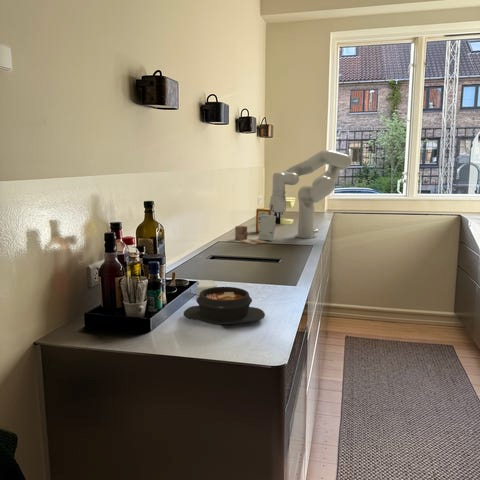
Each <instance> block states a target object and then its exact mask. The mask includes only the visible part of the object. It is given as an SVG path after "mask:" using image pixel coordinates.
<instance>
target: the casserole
mask: <svg viewBox="0 0 480 480" xmlns="http://www.w3.org/2000/svg"><path fill="white" fill-rule="evenodd" d="M252 302H253V299H252V297H250V294H249V292H248V291H247V290H246V289H243V288H239V287H233V286H217V287H213V288H208V289H205V290H203V291H201V292H200V294H199V295H198V297H197V298H196V303H197V304H198V305H193V306H190V307H188V308H187V309H185V310H184V311H183V313H182V314H183V317H185V319H188V320H193V321H199V322H202V323H207V324H211V325H216V326H233V325H237V324H243V323H254V322H255V323H256V322H259V321H261V320H263V319H264V318H265V316H266V314H265V312H264V310H262V309H261V308H258V307H255V306H253V307H252V306H250V305H251V304H252Z"/></svg>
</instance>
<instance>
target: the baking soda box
mask: <svg viewBox="0 0 480 480" xmlns="http://www.w3.org/2000/svg"><path fill="white" fill-rule="evenodd" d="M263 214H264V215H272V214H271V212H270V211H269V207H267V208H266V207H258V208H256V211H255V217H256V218H255V221H256V222H255V233H256V234H259V231H260V221H261V215H263Z"/></svg>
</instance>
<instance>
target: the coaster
mask: <svg viewBox="0 0 480 480" xmlns="http://www.w3.org/2000/svg"><path fill="white" fill-rule="evenodd" d="M196 281H198V282H199V285H198V286H197V295H196V296H199V294H200V292H201V291H203V290H205V289H208V288H213V287H218V283H217V282H216V281H214V280H211V279H198V280H196Z"/></svg>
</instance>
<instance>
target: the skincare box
mask: <svg viewBox="0 0 480 480" xmlns="http://www.w3.org/2000/svg"><path fill="white" fill-rule="evenodd" d="M275 221H276V216H273V215H264V214H263V215H261V221H260V231H259V233H258V239H260V240H264V241H274V239H275V238H274V237H275V232H276V231H275V229H276V224H275Z"/></svg>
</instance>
